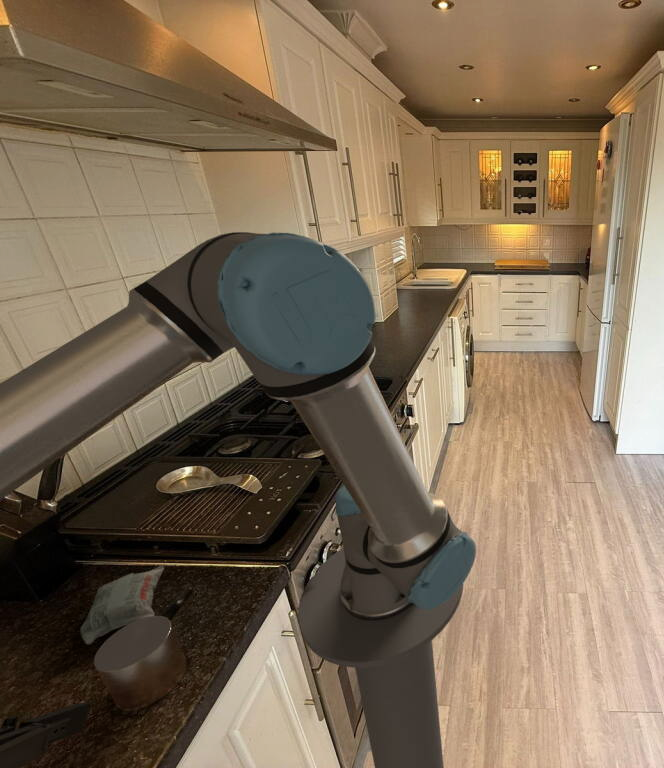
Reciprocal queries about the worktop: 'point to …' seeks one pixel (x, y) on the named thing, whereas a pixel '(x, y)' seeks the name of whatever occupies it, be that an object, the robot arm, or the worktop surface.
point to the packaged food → (121, 604)
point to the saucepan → (143, 659)
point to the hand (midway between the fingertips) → (79, 716)
